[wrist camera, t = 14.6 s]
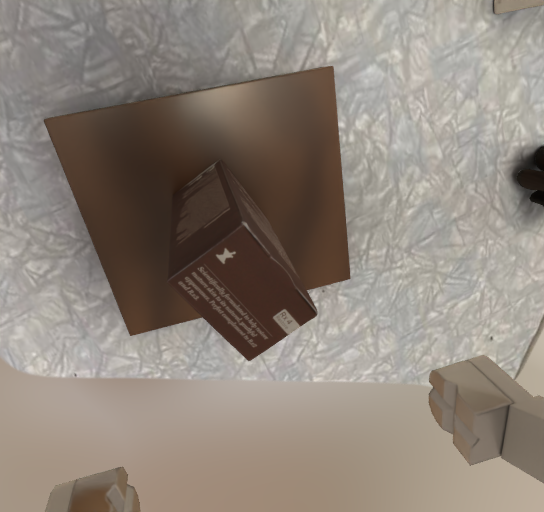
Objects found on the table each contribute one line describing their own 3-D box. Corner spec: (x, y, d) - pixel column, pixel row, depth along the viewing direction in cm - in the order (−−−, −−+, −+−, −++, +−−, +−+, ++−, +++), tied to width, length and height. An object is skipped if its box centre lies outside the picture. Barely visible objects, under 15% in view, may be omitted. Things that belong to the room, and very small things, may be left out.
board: (131, 329, 31) (130, 336, 30) (47, 117, 24) (42, 119, 23) (346, 273, 33) (350, 279, 32) (328, 66, 26) (333, 65, 25)
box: (167, 198, 26) (160, 281, 16) (220, 157, 26) (251, 213, 15) (222, 260, 29) (249, 367, 18) (271, 223, 29) (328, 311, 18)
